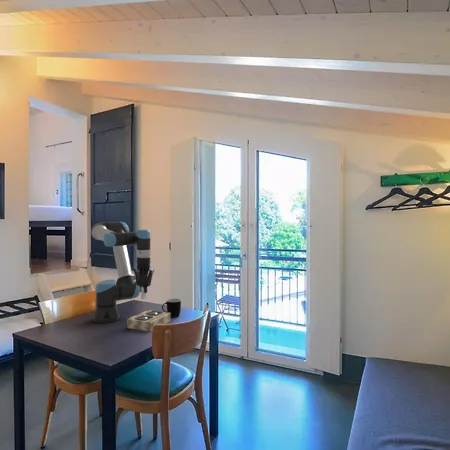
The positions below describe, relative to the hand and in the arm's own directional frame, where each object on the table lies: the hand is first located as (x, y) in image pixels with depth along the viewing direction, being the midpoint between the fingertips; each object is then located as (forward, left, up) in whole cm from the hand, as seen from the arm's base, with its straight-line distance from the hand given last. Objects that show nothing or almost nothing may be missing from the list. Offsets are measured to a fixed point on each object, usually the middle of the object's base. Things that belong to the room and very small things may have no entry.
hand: (143, 298), depth 199 cm
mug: (+3, +24, -17) cm, 29 cm away
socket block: (0, +5, -16) cm, 17 cm away
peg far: (0, +10, -16) cm, 19 cm away
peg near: (0, 0, -16) cm, 16 cm away
